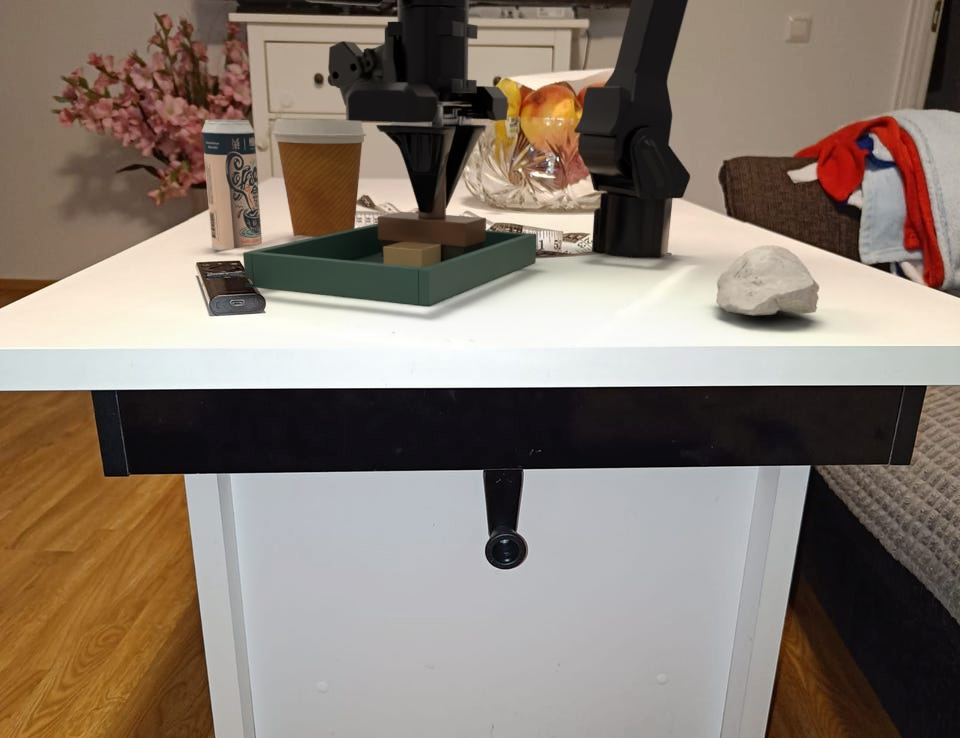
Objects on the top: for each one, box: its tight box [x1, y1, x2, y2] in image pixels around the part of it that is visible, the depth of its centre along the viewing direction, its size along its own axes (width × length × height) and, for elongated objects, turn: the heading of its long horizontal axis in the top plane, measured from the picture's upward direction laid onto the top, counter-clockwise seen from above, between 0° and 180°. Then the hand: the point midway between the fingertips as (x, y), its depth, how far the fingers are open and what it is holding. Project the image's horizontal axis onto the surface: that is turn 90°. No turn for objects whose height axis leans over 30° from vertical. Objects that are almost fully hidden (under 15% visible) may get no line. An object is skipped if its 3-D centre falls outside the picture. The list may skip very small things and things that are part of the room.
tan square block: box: [383, 242, 441, 268], centre depth 78 cm, size 4×4×2 cm
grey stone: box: [716, 244, 820, 317], centre depth 67 cm, size 9×8×5 cm
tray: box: [242, 222, 537, 308], centre depth 77 cm, size 16×22×3 cm
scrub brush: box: [377, 166, 487, 262], centre depth 80 cm, size 8×4×8 cm, turn 66°
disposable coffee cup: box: [271, 118, 367, 238], centre depth 97 cm, size 10×10×12 cm
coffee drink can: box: [201, 119, 263, 253], centre depth 89 cm, size 5×5×12 cm
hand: (433, 210), depth 80 cm, fingers closed on scrub brush, 2 cm apart
